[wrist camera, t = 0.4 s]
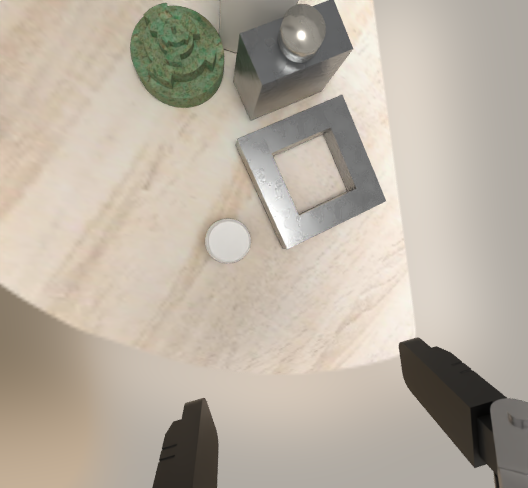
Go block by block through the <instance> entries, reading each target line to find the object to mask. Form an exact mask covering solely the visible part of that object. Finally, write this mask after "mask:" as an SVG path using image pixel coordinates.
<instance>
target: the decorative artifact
mask: <svg viewBox="0 0 528 488" xmlns="http://www.w3.org/2000/svg"><path fill="white" fill-rule="evenodd" d="M130 50H131V57H132V61H133V64H134V67H135V69H136V71H137V73H138V75H139V77H140V79H141V81H142V83H143V85H144V86H145V88H146V89H147V90H148V91H149V92H150V93H151V94H152V95H153V96H154V97H155V98H157V99H158V100H160V101H161V102H163V103H165V104H168V105H170V106H174V107H181V108H188V107H194V106H197V105H200V104H202V103H204V102H206V101H207V100H209V99H210V98H211V97H212V96H213V95H214V94H215V93H216V91H217V90H218V88H219V86H220V84H221V81H222V77H223V68H224V50H223V45H222V42H221V39H220V37H219V35H218V33H217V31H216V30H215V28H214V27H213V25H212V24H211V23H210V22H209V21H208V20H207V19H206V18H205V17H203V16H202V15H200V14H199V13H197V12H195V11H193V10H191V9H188V8H185V7H181V6H167V3H162V4H159V5H156V6H154V7H152V8H151V9H149V10H148V11H147V12H146V13H145V14H144V17H143V18H142V19H141V20H140V21H139V22H138V24H137V25H136V27H135V29H134V31H133V34H132V38H131V44H130Z"/></svg>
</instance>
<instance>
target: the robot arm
mask: <svg viewBox="0 0 528 488" xmlns="http://www.w3.org/2000/svg"><path fill="white" fill-rule="evenodd" d="M399 352H400V359H401V366H402V373H403V377H404V380H405V383H406V385H407V387H408V388H409V390H410V391H411V392H412V394H413V395H414V396H415V397H416V398H417V400H418V401H419V402H420V403H421V404H422V406H423V407H424V408H425V409H426V410H427V412H428V413H429V414H430V415H431V416H432V417H433V419H434V420H435V421H436V422H437V423H438V425H439V426H440V427H441V428H442V430H443V431H444V432H445V433H446V434H447V435H448V437H449V438H450V439H451V440H452V441H453V442H454V444H455V445H456V446H457V447H458V449H459V450H460V451H461V452H462V453H463V454H464V456H465V457H466V458H467V459H468V461H469V462H470V463H471V464H472V465H473V466H474V468H476V467H479V466H482V465H485V464H487V465H488V466H489V467H490V468H491V469H492V470H493V471H494V483H495V488H528V402H525V401H522V400H517V399H510V398H507V397H505V396H504V395H503V394H502V393H500V392H499V391H498V390H497V389H495V388H494V387H493V386H492V385H490V384H489V383H488V382H486V381H485V380H484V379H483V378H481V377H480V376H479V375H478V374H477V373H475V372H474V371H472V370H471V368H469V367H468V366H467V365H466V364H464V363H462V361H461V360H459V359H458V358H457V357H456V356H454V355H453V354H452V353H450V352H448V351H446V350H444V349H441V348H439V347H433V348H431V347H430V346H428V345H427V344H426V343H425V342H424V341H422V340H421V339H420V338H414V339H410V340H407V341H403V342H400V343H399ZM159 460H160V462H159V463H158V467H157V471H156V475H155V480H154V484H153V488H217V473H218V436H217V431H216V427H215V425H214V422H213V419H212V416H211V413H210V410H209V407H208V404H207V401H206V399H205V398H202V399H198V400H195V401H191V402H188V403H185V405H184V410H183V415H182V419H181V420H178V421H174V422H173V423H172V425H171V426H170V428H169V430H168V431H167V433H166V434H165V438H164V442H163V447H162V451H161V455H160V459H159Z"/></svg>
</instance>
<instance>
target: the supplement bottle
mask: <svg viewBox="0 0 528 488" xmlns="http://www.w3.org/2000/svg"><path fill="white" fill-rule="evenodd" d="M205 245H206V249H207V251H208V253H209V254H210V256H211V257H212V258H214V259H215V260H217V261H218V262H221V263H235V262H238V261H240V260H241V259H243V258H244V257H245V256H246V254H247V253H248V251H249V249H250V245H251V237H250V233H249V231H248V229H247V228H246V226H245V225H244V224H242V223H241V222H239V221H237V220H235V219H221V220H219V221H217V222H215V223H214V224H212V225H211V226H210V228H209V229H208V231H207V233H206V237H205Z"/></svg>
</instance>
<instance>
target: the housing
mask: <svg viewBox="0 0 528 488" xmlns="http://www.w3.org/2000/svg"><path fill="white" fill-rule="evenodd" d="M352 50H353V47H352V44H351V42H350V40H349V37H348V35H347V32H346V30H345V27H344V25H343V22H342V20H341V17H340V15H339V12H338V10H337V7H336V5H335V2H334V0H328V1H326V2H323V3H320V4H318V5H315V6H310V5H307V4H297V5H294V6H292V7H291V8H289V9H288V10H287V12H286V13H285V15H284V17H283V18H280V19H277V20H274V21H272V22H269V23H266V24H264V25H261V26H258V27H256V28H253V29H250V30H248V31H245V32H242V33H240V34H239V41H238V49H237V57H236V65H235V73H234V80H233V82H234V85H235V87H236V89H237V91H238V94H239V96H240V98H241V100H242V102H243V105H244V107H245V109H246V111H247V114H248V116H249V118H250V120H254V119H256V118H259V117H261V116H263V115H266V114H268V113H271V112H273V111H275V110H278V109H280V108H283V107H285V106H287V105H290V104H292V103H295V102H297V101H299V100H302V99H304V98H307V97H309V96H311V95H314V94H316V93H319V92H321V91H322V90H323V88H324V87H325V86H326V84H327V83H328V82H329V80H330V79H331V78H332V76H333V75H334V74H335V72H336V71H337V70H338V68H339V67H340V66H341V64H342V63H343V62H344V60H345V59H346V58H347V56H348V55H349V54H350V52H351V51H352ZM322 134H323V135H324V137H325V140H326V142H327V144H328V147H329V149H330V151H331V154H332V156H333V158H334V161H335V163H336V166H337V168H338V170H339V173H340V175H341V177H342V180H343V182H344V184H345V187H346V189H347V192H345V193H343V194H341V195H339V196H337V197H335V198H333V199H331V200H328V201H326V202H324V203H322V204H320V205H318V206H316V207H314V208H312V209H309V210H307V211H305V212H303V213H301V214H298V212H297V209H296V207H295V205H294V203H293V200H292V198H291V196H290V194H289V192H288V189H287V187H286V185H285V183H284V180H283V178H282V176H281V174H280V171H279V169H278V167H277V165H276V162H275V160H274V158H273V156H275V155H277V154H279V153H281V152H284V151H286V150H288V149H291V148H293V147H295V146H297V145H300V144H302V143H304V142H306V141H309V140H311V139H313V138H316V137H318V136H320V135H322ZM236 147H237V149H238V152H239V154H240V156H241V158H242V160H243V163H244V165H245V167H246V169H247V171H248V174H249V176H250V178H251V180H252V182H253V184H254V187H255V189H256V191H257V193H258V195H259V198H260V200H261V202H262V204H263V206H264V208H265V211H266V213H267V215H268V217H269V219H270V222H271V224H272V226H273V228H274V230H275V232H276V235H277V237H278V239H279V241H280V243H281V246H282V248H284V249H289V248H291V247H293V246H295V245H297V244H299V243H301V242H303V241H305V240H307V239H309V238H311V237H314V236H316V235H318V234H320V233H322V232H324V231H326V230H328V229H330V228H332V227H334V226H336V225H338V224H340V223H342V222H344V221H346V220H348V219H350V218H352V217H354V216H356V215H359V214H361V213H363V212H365V211H367V210H369V209H371V208H373V207H375V206H377V205H379V204H381V203H383V202H385V201H386V200H385V197H384V195H383V192H382V190H381V187H380V185H379V183H378V180H377V178H376V175H375V173H374V170H373V168H372V166H371V163H370V161H369V158H368V156H367V153H366V151H365V149H364V146H363V144H362V141H361V139H360V137H359V134H358V132H357V129H356V127H355V124H354V122H353V120H352V117H351V115H350V112H349V110H348V107H347V105H346V103H345V100H344V98H343V95H340V96H338V97H335V98H333V99H331V100H328V101H326V102H324V103H321V104H319V105H316V106H314V107H312V108H309V109H307V110H305V111H302V112H300V113H297V114H295V115H293V116H290V117H288V118H286V119H283V120H281V121H279V122H276V123H274V124H271V125H269V126H267V127H264V128H262V129H260V130H257V131H255V132H253V133H250V134H248V135H245V136H243V137H241V138H238V139H237V142H236Z"/></svg>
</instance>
